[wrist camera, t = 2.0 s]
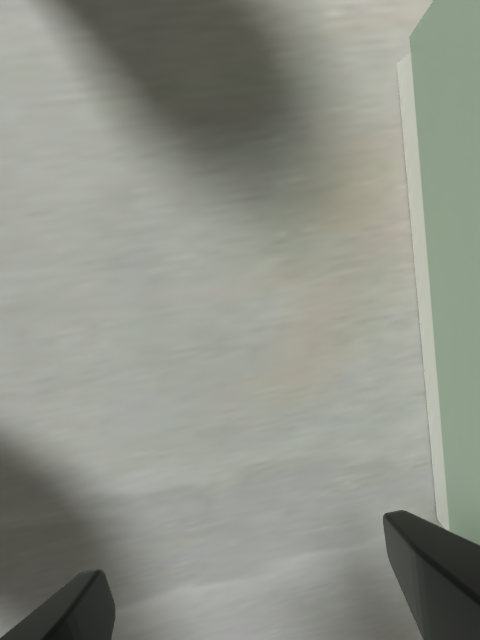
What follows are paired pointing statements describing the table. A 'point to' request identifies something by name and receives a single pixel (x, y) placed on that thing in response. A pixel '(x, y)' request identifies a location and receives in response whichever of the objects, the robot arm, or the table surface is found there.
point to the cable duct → (422, 281)
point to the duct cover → (453, 235)
